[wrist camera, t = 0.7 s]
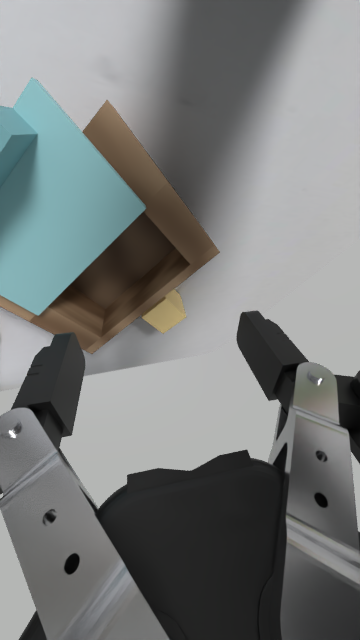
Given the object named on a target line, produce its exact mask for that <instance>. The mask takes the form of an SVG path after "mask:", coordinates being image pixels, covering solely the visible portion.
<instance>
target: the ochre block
mask: <svg viewBox="0 0 360 640" xmlns="http://www.w3.org/2000/svg"><path fill="white" fill-rule="evenodd" d="M184 318H186V314H185V310H184V307H183V303H182V300H181V296H180V295H179V294H178V293H177V292H176V291H175V290H174V289H173V290H172V291H171V292H169V293H168V294H167V295H166V296H164V297H163V298H162V299H161V300H159V301H158V302H157V303H156V304H154V305H153V306H152V307H150V308H149V309H148V310H147V311H145V312H144V313H143V314H142V319H144V320H145V321H147V322H148V323H149V324H151V325H152V326H153V327H155V328H156V329H157V330H159V331H160V332H161V333H163V334H164V333H165V332H166V331H168V330H169V329H171V328H172V327H173V326H175V325H176V324H177V323H179V322H180V321H182V320H183V319H184Z"/></svg>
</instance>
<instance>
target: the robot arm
mask: <svg viewBox="0 0 360 640" xmlns="http://www.w3.org/2000/svg"><path fill="white" fill-rule="evenodd" d="M237 343H238V347H239V349H240V350H241V352H242V354H243V356H244V358H245V359H246V361H247V363H248V364H249V366H250V368H251V370H252V372H253V373H254V375H255V377H256V379H257V380H258V382H259V384H260V386H261V388H262V390H263V391H264V393H265V395H266V397H267V398H268V400H269V401H270V400H276V399H278V400H279V402H280V403H281V404H280V407H279V412H278V418H277V424H276V430H275V436H274V442H273V446H272V450H271V453H270V456H269V460H268V463H267V462H265V461H262V460H258V459H254V458H250V456H249V453H248V451H247V450H243V451H238V452H233V453H229V454H224V455H219V456H217V457H216V458H214V459H212V460H210V461H209V462H207V463H205V464H203V465H201V466H200V467H198V468H196V469H194V470H192V471H185V470H172V469H161V468H157V469H152V470H148V471H143V472H138V473H134V474H129V475H127V484H126V485H125V486H123V487H121V488H120V489H118V490H117V491H116V492H114V493H113V494H112V495H111V496H110V497H109V498H108V499H107V500H106V501H105V502H104V503H103V504H102V505H101V506H100V508H98V507H97V505H96V504H95V502H94V501H93V499H92V497H91V496H90V495H89V493H88V492H87V490H86V489H85V487H84V486H83V484H82V483H81V481H80V479H79V478H78V476H77V475H76V473H75V472H74V470H73V468H72V467H71V465H70V464H69V462H68V461H67V459H66V457H65V456H64V454H63V453H62V451H61V449H60V448H59V446H60V442H61V438H62V437H66V436H71V435H72V431H73V426H74V421H75V416H76V411H77V406H78V401H79V396H80V391H81V385H82V381H83V376H84V370H85V358H84V355H83V352H82V349H81V347H80V344H79V342H78V339H77V336H76V334H75V333H74V332H70V333H61V334H55V336H54V338H53V340H52V343H51V345H50V346H48V347H43V349H42V350H41V351H40V352H39V353H38V354H37V355H36V356H35V357H34V360H33V362H32V364H31V368H29V371H28V373H27V376H26V377H25V380H24V382H23V384H22V386H21V388H20V391H19V393H18V395H17V398H16V400H15V402H14V404H13V406H12V408H11V410H10V411H8V412H6V413H4V414H2V415H1V416H0V494H2V493H3V495H4V496H3V497H2V498H1V499H0V509H1V512H2V515H3V518H4V520H5V523H6V526H7V529H8V532H9V534H10V537H11V540H12V543H13V546H14V548H15V551H16V554H17V557H18V560H19V562H20V565H21V568H22V570H23V573H24V576H25V579H26V582H27V584H28V587H29V590H30V593H31V596H32V599H33V601H34V604H35V607H36V612H35V613H34V615H33V617H32V619H31V620H30V622H29V624H28V625H27V627H26V629H25V630H24V632H23V633H22V635H21V637H20V638H19V640H360V532H358V528H357V516H356V505H355V494H354V484H353V474H352V462H351V452H352V453H353V455H354V456H355V458H356V459H357V460H358V462H359V463H360V371H359V372H358V373H357V374H356V376H355V377H350V376H341V375H333V374H332V372H331V371H330V370H328V369H327V368H325V367H324V366H322V365H320V364H317V363H312V362H309V361H308V360H307V359H306V358H305V357H304V355H303V354H302V353H301V352H300V351H299V349H298V348H297V347H296V346H295V345H294V344H293V343H292V341H291V340H289V338H288V337H287V335H286V334H284V332H283V331H282V330H281V328H280V327H279V326H278V325H277V324H275V323H274V322H272V321H270V320H269V319H266V320H265V319H264V317H263V316H262V315H261V314H260V312H259V311H249V312H242V313H241V316H240V321H239V326H238V331H237ZM350 450H351V451H350Z"/></svg>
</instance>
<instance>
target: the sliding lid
mask: <svg viewBox="0 0 360 640" xmlns="http://www.w3.org/2000/svg"><path fill="white" fill-rule="evenodd" d="M145 209H146V205H145V204H144V203H143V202H142V201H141V200H140V198H139V197H138V196H137V195H136V194H135V193H134V192H133V190H132V189H131V188H130V187H129V186H128V185H127V183H126V182H125V181H124V180H123V179H122V178H121V176H120V175H119V174H118V173H117V172H116V171H115V170H114V168H113V167H112V166H111V165H110V164H109V163H108V161H107V160H106V159H105V158H104V157H103V156H102V154H101V153H100V152H99V151H98V150H97V149H96V148H95V146H94V145H93V144H92V143H91V142H90V141H89V139H88V138H87V137H86V136H85V135H84V134H83V132H82V131H81V130H80V129H79V128H78V127H77V126H76V124H75V123H74V122H73V121H72V120H71V119H70V117H69V116H68V115H67V114H66V113H65V112H64V110H63V109H62V108H61V107H60V106H59V105H58V104H57V102H56V101H55V100H54V99H53V98H52V97H51V95H50V94H49V93H48V92H47V91H46V90H45V88H44V87H43V86H42V85H41V84H40V83H39V82H38V80H36V79H34V78H31V80H30V81H29V83H28V84H27V86H26V88H25V89H24V91H23V92H22V94H21V96H20V97H19V99H18V100H17V102H16V104H15V105H14V107H13V108H9V107H4V106H0V295H1V296H3V297H5V298H7V299H8V300H10V301H12V302H14V303H16V304H17V305H19V306H21V307H23V308H25V309H27V310H28V311H30V312H32V313H34V314H36V315H38V316H39V315H40V314H41V313H42V312H43V311H44V310H45V309H46V308H47V307H48V306H49V305H50V304H51V303H52V302H53V301H54V300H55V299H56V298H57V297H58V296H59V295H60V294H61V293H62V292H63V291H64V290H65V289H66V288H67V287H68V286H69V285H70V284H71V283H72V282H73V281H74V280H75V279H76V278H77V277H78V276H79V275H80V274H81V273H82V272H83V271H84V270H85V269H86V268H87V267H88V266H89V265H90V264H91V263H92V262H93V261H94V260H95V259H96V258H97V257H98V256H99V255H100V254H101V253H102V252H103V251H104V250H105V249H106V248H107V247H108V246H109V245H110V244H111V243H112V242H113V241H114V240H115V239H116V238H117V237H118V236H119V235H120V234H121V233H122V232H123V231H124V230H125V229H126V228H127V227H128V226H129V225H130V224H131V223H132V222H133V221H134V220H135V219H136V218H137V217H138V216H139V215H140V214H141V213H142V212H143V211H144V210H145Z"/></svg>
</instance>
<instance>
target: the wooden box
mask: <svg viewBox="0 0 360 640" xmlns="http://www.w3.org/2000/svg"><path fill="white" fill-rule="evenodd" d="M83 134H84V135H85V136H86V137H87V138H88V139H89V141H90V142H91V143H92V144H93V145H94V146H95V148H96V149H97V150H98V151H99V152H100V153H101V154H102V156H103V157H104V158H105V159H106V160H107V161H108V163H109V164H110V165H111V166H112V167H113V168H114V170H115V171H116V172H117V173H118V174H119V175H120V176H121V178H122V179H123V180H124V181H125V182H126V183H127V185H128V186H129V187H130V188H131V189H132V190H133V192H134V193H135V194H136V195H137V196H138V197H139V198H140V200H141V201H142V202H143V203H144V204H145V205H146V209H145V210H144V211H143V212H142V213H141V214H140V215H139V216H138V217H137V218H136V219H135V220H134V221H133V222H132V223H131V224H130V225H129V226H128V227H127V228H126V229H125V230H124V231H123V232H122V233H121V234H120V235H119V236H118V237H117V238H116V239H115V240H114V241H113V242H112V243H111V244H110V245H109V246H108V247H107V248H106V249H105V250H104V251H103V252H102V253H101V254H100V255H99V256H98V257H97V258H96V259H95V260H94V261H93V262H92V263H91V264H90V265H89V266H88V267H87V268H86V269H85V270H84V271H83V272H82V273H81V274H80V275H79V276H78V277H77V278H76V279H75V280H74V281H73V282H72V283H71V284H70V285H69V286H68V287H67V288H66V289H65V290H64V291H63V292H62V293H61V294H60V295H59V296H58V297H57V298H56V299H55V300H54V301H53V302H52V303H51V304H50V305H49V306H48V307H47V308H46V309H45V310H44V311H43V312H42V313H41V314H40V315H39V316H38V315H36V314H34V313H32V312H30V311H28V310H27V309H25V308H23V307H21V306H19V305H17V304H16V303H14V302H12V301H10V300H8V299H7V298H5V297H3V296H1V295H0V307H2V308H4V309H6V310H8V311H10V312H12V313H14V314H16V315H18V316H20V317H21V318H23V319H25V320H27V321H29V322H31V323H33V324H35V325H37V326H39V327H41V328H43V329H45V330H46V331H48V332H50V333H52V334H54V335H55V334H61V333H70V332H74V333H75V334H76V336H77V339H78V342H79V344H80V347H81V349H83V350H85V351H87V352H89V353H91V354H93V353H94V352H95V351H96V350H98V349H99V348H100V347H101V346H103V345H104V344H105V343H106V342H108V341H109V340H110V339H111V338H113V337H114V336H115V335H117V334H118V333H119V332H120V331H122V330H123V329H124V328H125V327H127V326H128V325H129V324H130V323H132V322H133V321H134V320H135V319H137V318H138V317H139V316H140V315H142V314H143V313H144V312H145V311H147V310H148V309H149V308H150V307H152V306H153V305H154V304H156V303H157V302H158V301H159V300H161V299H162V298H163V297H164V296H166V295H167V294H168V293H169V292H171V291H172V290H173V289H174V288H176V287H177V286H178V285H179V284H181V283H182V282H183V281H184V280H186V279H187V278H188V277H189V276H191V275H192V274H193V273H195V272H196V271H197V270H198V269H200V268H201V267H202V266H203V265H205V264H206V263H207V262H208V261H210V260H211V259H212V258H213V257H215V256H216V255H217V254H218V253H220V252H219V250H218V249H217V247H216V246H215V245H214V243H213V242H212V240H211V239H210V238H209V236H208V235H207V233H206V232H205V231H204V229H203V228H202V226H201V225H200V224H199V222H198V221H197V220H196V218H195V217H194V216H193V214H192V213H191V212H190V210H189V209H188V207H187V206H186V205H185V203H184V202H183V201H182V199H181V198H180V197H179V195H178V194H177V193H176V191H175V190H174V188H173V187H172V186H171V184H170V183H169V182H168V180H167V179H166V178H165V176H164V175H163V174H162V172H161V171H160V170H159V168H158V167H157V165H156V164H155V163H154V161H153V160H152V159H151V157H150V156H149V155H148V153H147V152H146V151H145V149H144V148H143V146H142V145H141V144H140V142H139V141H138V140H137V138H136V137H135V136H134V134H133V133H132V132H131V130H130V129H129V127H128V126H127V125H126V123H125V122H124V121H123V119H122V118H121V117H120V115H119V114H118V113H117V111H116V110H115V108H114V107H113V106H112V105H111V104H110V103H109V101H108V100H106V102H105V103H104V104H103V106H102V107H101V108H100V110H99V111H98V112H97V114H96V115H95V116H94V117H93V119H92V120H91V121H90V123H89V124H88V125H87V127H86V128H85V129H84V130H83Z"/></svg>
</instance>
